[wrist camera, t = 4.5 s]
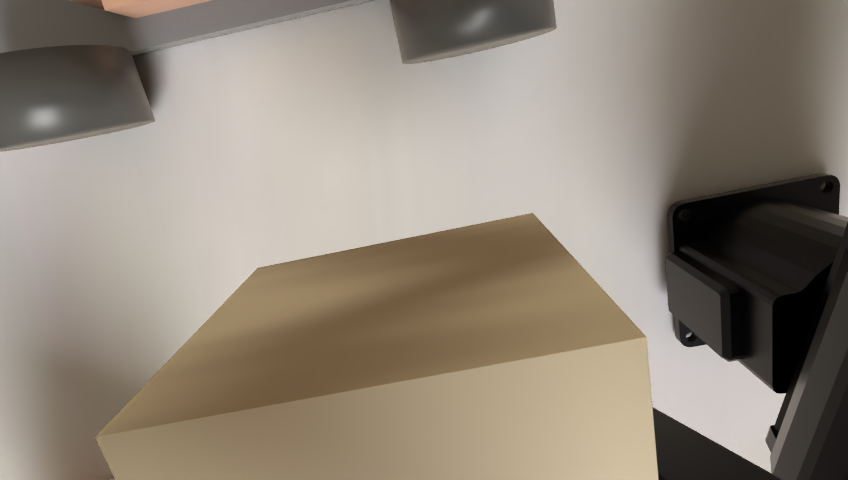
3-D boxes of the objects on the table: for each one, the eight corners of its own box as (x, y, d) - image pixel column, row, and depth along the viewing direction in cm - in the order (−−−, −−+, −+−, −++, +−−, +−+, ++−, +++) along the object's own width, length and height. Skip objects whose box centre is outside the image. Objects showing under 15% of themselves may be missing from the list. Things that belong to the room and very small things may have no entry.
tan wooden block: (533, 213, 8) (646, 337, 4) (573, 486, 10) (682, 777, 6) (257, 267, 9) (95, 436, 4) (341, 524, 10) (282, 829, 6)
